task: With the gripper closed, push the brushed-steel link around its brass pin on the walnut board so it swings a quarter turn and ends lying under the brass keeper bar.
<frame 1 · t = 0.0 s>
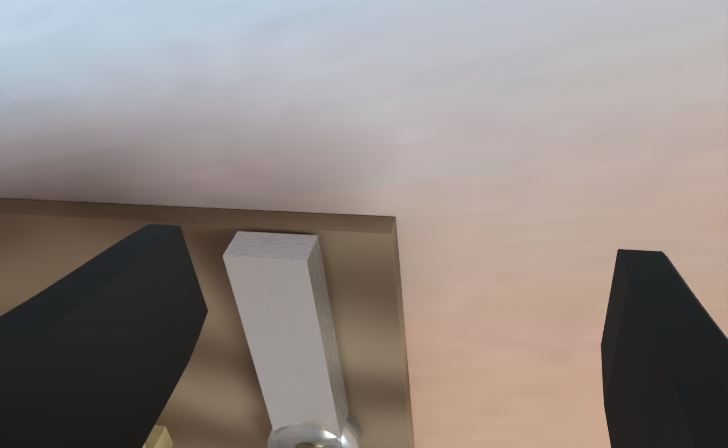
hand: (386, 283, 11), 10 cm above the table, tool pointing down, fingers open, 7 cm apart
walnut board: (191, 340, 29), on the table
steel link: (296, 382, 25), point 3 cm above the table, hinge at 0.0°
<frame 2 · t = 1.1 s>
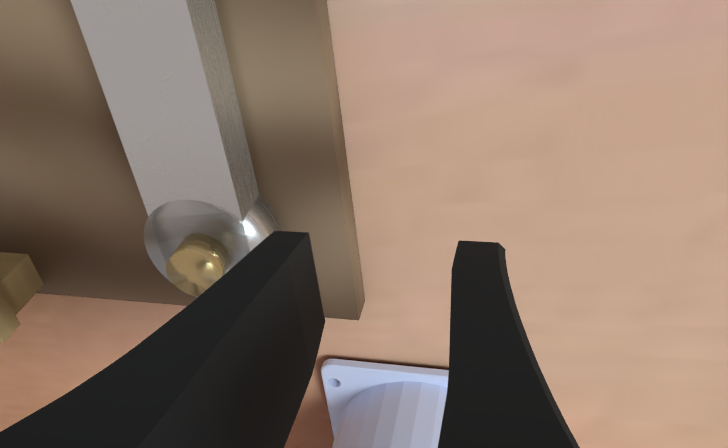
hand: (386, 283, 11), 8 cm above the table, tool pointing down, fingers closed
walnut board: (44, 107, 21), on the table
steel link: (167, 117, 17), point 3 cm above the table, hinge at 0.0°
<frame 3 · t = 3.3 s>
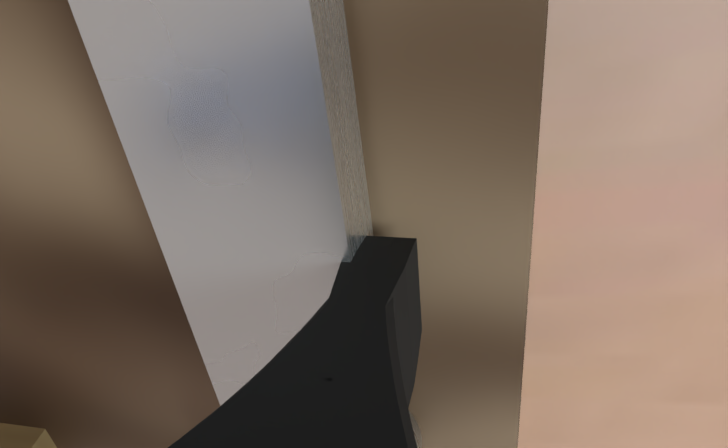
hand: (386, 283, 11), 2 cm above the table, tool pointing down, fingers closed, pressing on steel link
walnut board: (71, 253, 14), on the table
steel link: (276, 320, 10), point 3 cm above the table, hinge at 0.7°, touching gripper
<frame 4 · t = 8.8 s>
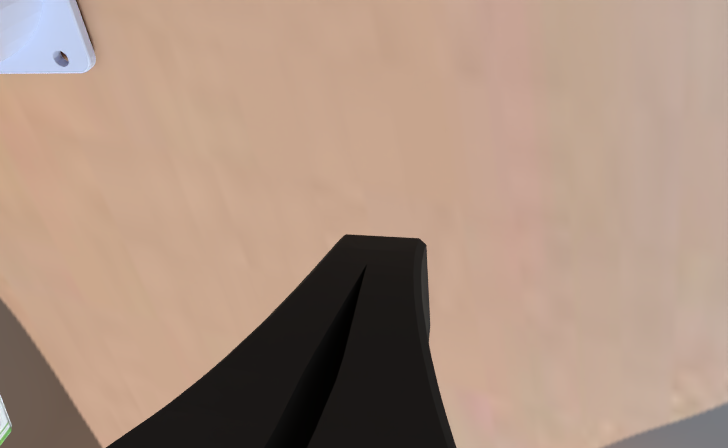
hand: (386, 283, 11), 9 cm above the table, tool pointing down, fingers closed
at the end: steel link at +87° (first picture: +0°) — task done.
